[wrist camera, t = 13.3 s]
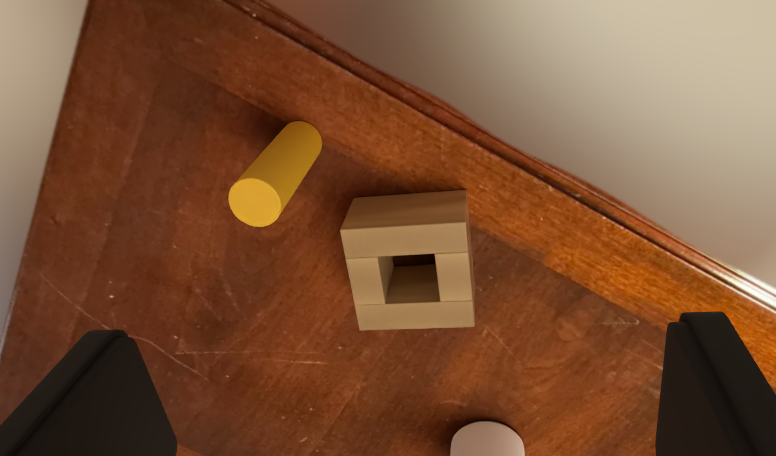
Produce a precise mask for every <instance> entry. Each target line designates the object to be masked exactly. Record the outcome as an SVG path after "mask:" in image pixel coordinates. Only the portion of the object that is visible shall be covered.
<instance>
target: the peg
mask: <svg viewBox="0 0 776 456" xmlns="http://www.w3.org/2000/svg"><path fill="white" fill-rule="evenodd" d="M321 149H322V139H321V136H320V134H319V132H318V131H317V129H316V128H315V127H314V126H312V125H311V124H309V123H307V122H303V121H294V122H291V123H289V124H288V125H286V126H285V127H284V128H283V130H282V131H281V132H280V133H279V134H278V135H277V136H276V137H275V139H274V140H273V141H272V142H271V143H270V144H269V145H268V146H267V148H266V149H265V150H264V151H263V152H262V153H261V154H260V155H259V157H258V158H257V159H256V160H255V161H254V162H253V163H252V164H251V166H250V167H249V168H248V169H247V170H246V171H245V172H244V173H243V175H242V176H241V177H240V178H239V179H238V180H237V181H236V182H235V184H234V185H233V186H232V187H231V189H230V192H229V205H230V208H231V210H232V212H233V213H234V214H235V216H236V217H237V218H238V219H240V220H241V221H242V222H244V223H246V224H248V225H251V226H256V227H262V226H267V225H270V224H272V223H273V222H274V221H275V220H276V219H277V218H278V217H279V215H280V214H281V212H282V210H283V209H284V207H285V206H286V204H287V203H288V201H289V200H290V198H291V197H292V195H293V193H294V192H295V190H296V189H297V187H298V186H299V184H300V183H301V181H302V180H303V178H304V176H305V175H306V173H307V172H308V170H309V169H310V167H311V166H312V164H313V163H314V161H315V159H316V158H317V156H318V155H319V153H320V151H321Z"/></svg>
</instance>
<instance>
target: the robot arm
mask: <svg viewBox="0 0 776 456" xmlns="http://www.w3.org/2000/svg"><path fill="white" fill-rule="evenodd" d="M655 446H656V456H776V395H775V393H774V392H773V390H772V388H771V387H770V385H769V383H768V382H767V380H766V379H765V377H764V375H763V374H762V372H761V371H760V369H759V367H758V366H757V364H756V362H755V361H754V359H753V358H752V356H751V354H750V353H749V351H748V349H747V348H746V346H745V345H744V343H743V341H742V340H741V338H740V337H739V335H738V333H737V332H736V330H735V328H734V327H733V325H732V324H731V322H730V320H729V319H728V317H727V316H726V315H725V313H723V312H687V313H682V314H681V316H680V319H679V322H670V323H669V324H668V327H667V334H666V344H665V354H664V364H663V373H662V383H661V393H660V403H659V412H658V422H657V432H656V444H655ZM176 452H177V440H176V437H175V435H174V432H173V430H172V427H171V425H170V423H169V420H168V418H167V415H166V413H165V411H164V408H163V406H162V404H161V401H160V399H159V396H158V394H157V392H156V389H155V387H154V384H153V382H152V380H151V377H150V375H149V373H148V370H147V368H146V365H145V363H144V361H143V358H142V356H141V353H140V351H139V349H138V346H137V344H136V342H135V340H134V339H132V338H130V337H128V335H127V333H125V332H124V331H123V330H93V331H89V332H87V333H86V334H85V335H84V336H83V337H82V338H81V339H80V340H79V341H78V342H77V343H76V344H75V345H74V346H73V348H72V349H71V350H70V351H69V352H68V353H67V354H66V355H65V356H64V357H63V358H62V359H61V361H60V362H59V363H58V364H57V365H56V366H55V367H54V368H53V369H52V370H51V371H50V372H49V374H48V375H47V376H46V377H45V378H44V379H43V380H42V381H41V382H40V383H39V384H38V385H37V387H36V388H35V389H34V390H33V391H32V392H31V393H30V394H29V395H28V396H27V397H26V398H25V400H24V401H23V402H22V403H21V404H20V405H19V406H18V407H17V408H16V409H15V410H14V411H13V413H12V414H11V415H10V416H9V417H8V418H7V419H6V420H5V421H4V422H3V423H2V424H1V426H0V456H176Z"/></svg>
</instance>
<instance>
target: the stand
mask: <svg viewBox="0 0 776 456" xmlns="http://www.w3.org/2000/svg"><path fill="white" fill-rule="evenodd" d="M340 234H341V239H342V244H343V249H344V254H345V258H346V264H347V269H348V274H349V279H350V284H351V289H352V294H353V299H354V304H355V310H356V315H357V320H358V325H359V330H385V329H418V328H451V327H475V281H474V269H473V258H472V246H471V234H470V222H469V210H468V198H467V190H455V191H442V192H428V193H414V194H400V195H386V196H372V197H358V198H353V201H352V203H351V205H350V208H349V210H348V212H347V215H346V217H345V219H344V222H343V224H342V226H341V229H340ZM417 254H435V262H436V264H432V265H412V266H394V264H393V257H392V256H398V255H417Z"/></svg>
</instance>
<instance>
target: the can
mask: <svg viewBox="0 0 776 456" xmlns="http://www.w3.org/2000/svg"><path fill="white" fill-rule="evenodd" d="M450 456H525V452H524V445H523V442H522V440H521V438H520V437H519V435H518V434H517V433H516V432H514V431H513V430H512V429H510V428H509V427H507V426H506V425H503V424H501V423H498V422H494V421H477V422H473V423H470V424H468V425H466V426H464V427H463V428H461V429H460V430H459V431H457V433H456V434H455V435H454V437H453V439H452V442H451V452H450Z"/></svg>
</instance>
